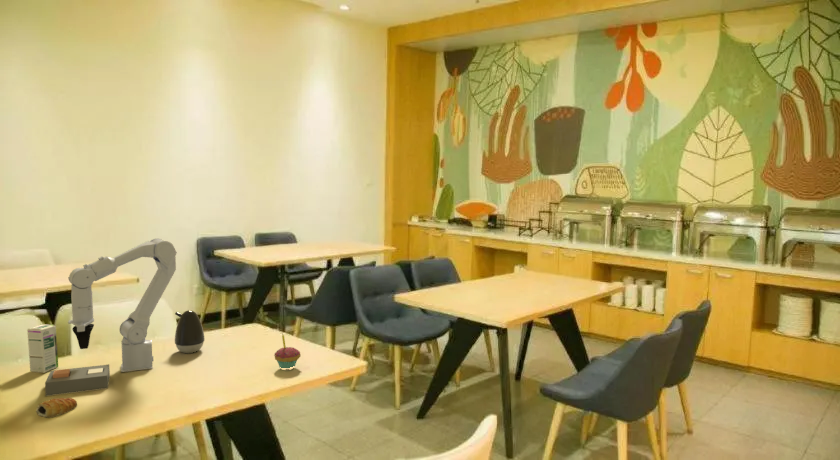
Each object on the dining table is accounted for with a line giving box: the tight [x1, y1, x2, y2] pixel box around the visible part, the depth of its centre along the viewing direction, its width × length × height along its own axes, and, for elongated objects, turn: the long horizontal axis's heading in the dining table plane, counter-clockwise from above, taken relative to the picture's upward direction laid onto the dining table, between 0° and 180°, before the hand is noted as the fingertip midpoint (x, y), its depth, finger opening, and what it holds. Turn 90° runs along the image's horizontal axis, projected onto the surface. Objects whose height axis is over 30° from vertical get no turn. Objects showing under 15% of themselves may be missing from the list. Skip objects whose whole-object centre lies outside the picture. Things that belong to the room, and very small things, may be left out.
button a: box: [87, 368, 103, 374], centre depth 181 cm, size 4×4×4 cm
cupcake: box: [273, 332, 301, 368], centre depth 198 cm, size 9×8×12 cm
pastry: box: [35, 397, 78, 418], centre depth 161 cm, size 9×7×4 cm
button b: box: [53, 368, 71, 378], centre depth 177 cm, size 4×4×4 cm
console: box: [44, 364, 111, 397], centre depth 179 cm, size 16×11×4 cm
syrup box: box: [26, 323, 59, 374], centre depth 193 cm, size 6×6×14 cm
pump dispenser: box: [174, 309, 205, 354], centre depth 214 cm, size 10×10×15 cm
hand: (84, 348), depth 186 cm, fingers closed
